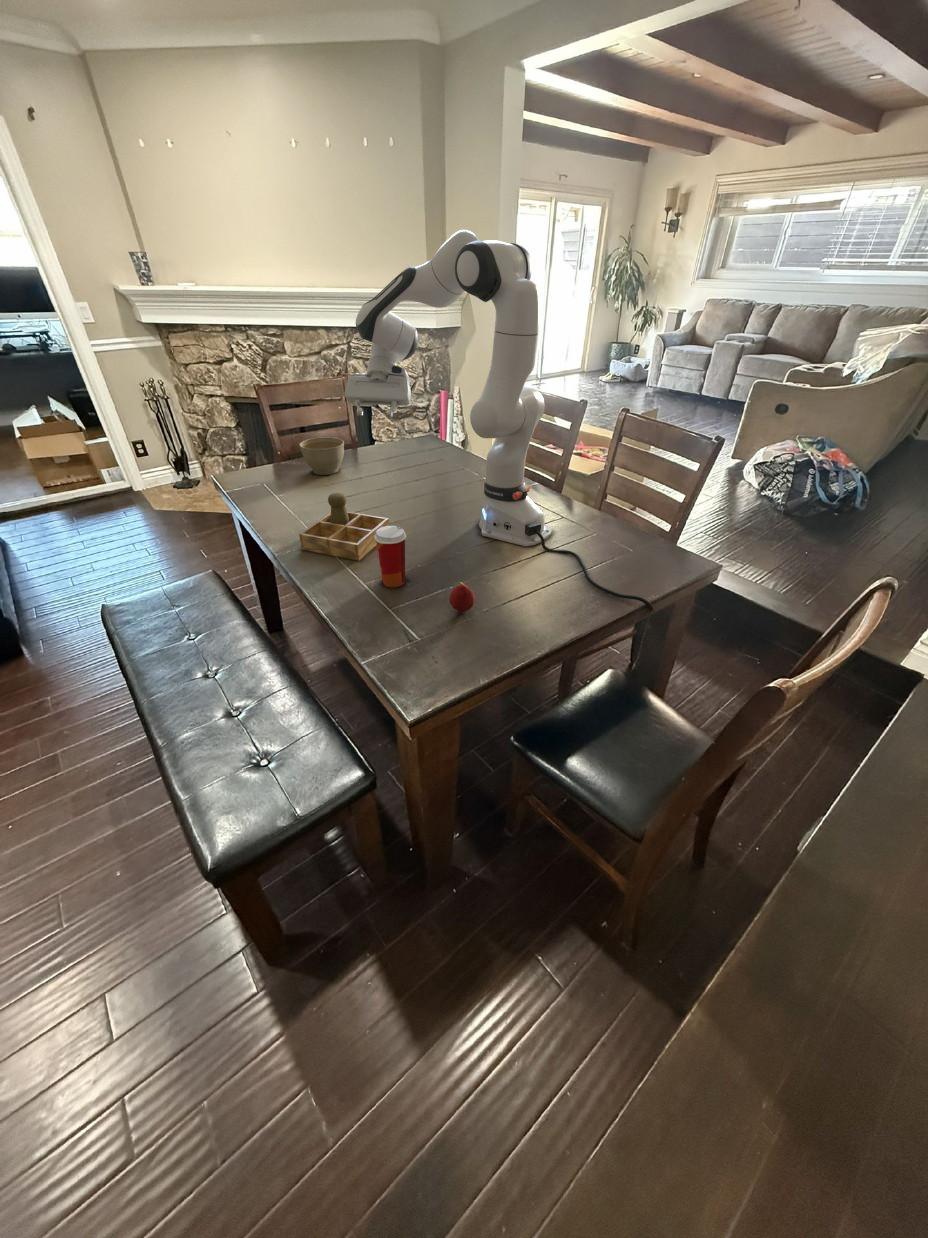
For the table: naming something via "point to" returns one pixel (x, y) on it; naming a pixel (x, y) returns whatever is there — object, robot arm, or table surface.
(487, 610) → the table surface
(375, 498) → the table surface
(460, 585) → the onion
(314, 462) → the planter bowl
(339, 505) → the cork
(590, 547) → the table surface
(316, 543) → the wooden compartment tray
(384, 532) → the paper cup
